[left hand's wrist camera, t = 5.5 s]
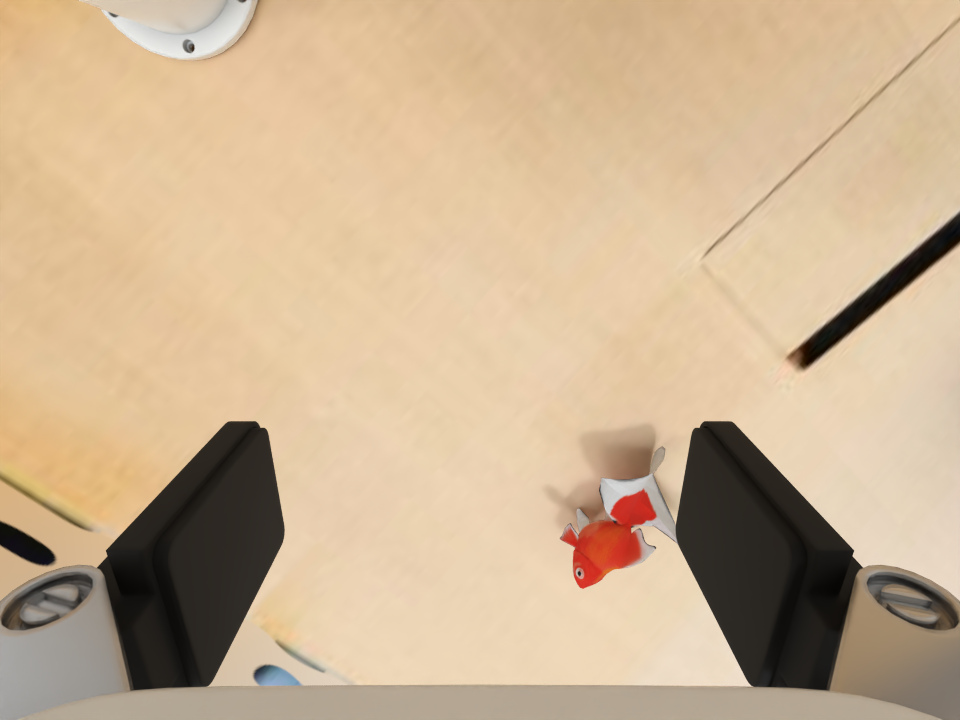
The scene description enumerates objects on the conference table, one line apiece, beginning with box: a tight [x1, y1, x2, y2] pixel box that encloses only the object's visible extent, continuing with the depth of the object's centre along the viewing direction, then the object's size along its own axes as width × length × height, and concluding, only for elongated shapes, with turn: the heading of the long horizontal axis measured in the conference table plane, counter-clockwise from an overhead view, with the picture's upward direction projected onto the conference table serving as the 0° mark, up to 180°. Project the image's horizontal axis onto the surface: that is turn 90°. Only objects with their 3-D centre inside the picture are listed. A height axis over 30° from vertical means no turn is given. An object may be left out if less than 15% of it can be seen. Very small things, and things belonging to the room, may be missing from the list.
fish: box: [560, 447, 678, 589], centre depth 51 cm, size 11×16×10 cm
